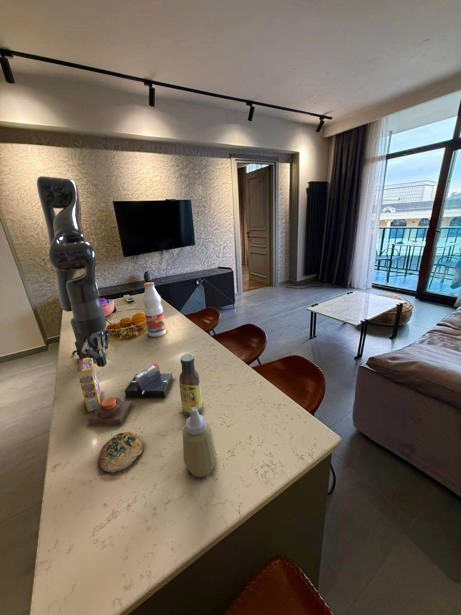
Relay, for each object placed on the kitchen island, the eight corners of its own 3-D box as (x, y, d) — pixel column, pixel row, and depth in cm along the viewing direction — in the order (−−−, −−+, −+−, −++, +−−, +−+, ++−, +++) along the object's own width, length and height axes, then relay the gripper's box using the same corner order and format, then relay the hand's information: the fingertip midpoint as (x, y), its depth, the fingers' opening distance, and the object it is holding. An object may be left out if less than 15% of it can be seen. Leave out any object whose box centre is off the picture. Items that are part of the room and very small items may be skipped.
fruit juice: (166, 328, 142) (159, 280, 132) (165, 336, 134) (157, 284, 124) (149, 330, 141) (140, 281, 131) (147, 338, 132) (137, 286, 122)
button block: (90, 424, 78) (87, 414, 77) (103, 406, 86) (101, 396, 84) (121, 424, 78) (118, 414, 76) (132, 406, 85) (130, 396, 84)
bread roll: (113, 435, 74) (111, 422, 72) (150, 440, 73) (149, 428, 71) (89, 472, 64) (86, 459, 62) (132, 480, 63) (130, 466, 61)
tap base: (124, 401, 88) (122, 393, 87) (139, 377, 100) (137, 370, 99) (163, 401, 87) (162, 393, 85) (174, 377, 99) (173, 370, 98)
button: (100, 410, 79) (99, 406, 78) (106, 401, 82) (105, 397, 82) (112, 410, 78) (111, 406, 78) (118, 401, 82) (117, 397, 82)
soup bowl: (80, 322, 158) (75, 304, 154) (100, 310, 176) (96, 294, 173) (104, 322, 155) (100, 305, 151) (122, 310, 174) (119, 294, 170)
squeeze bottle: (186, 453, 67) (177, 398, 61) (217, 450, 67) (211, 395, 61) (183, 484, 59) (173, 424, 53) (218, 480, 60) (212, 420, 54)
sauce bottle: (179, 415, 80) (170, 360, 73) (189, 401, 86) (182, 350, 79) (197, 420, 78) (190, 364, 71) (206, 406, 83) (200, 353, 76)
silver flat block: (140, 389, 88) (138, 376, 86) (137, 387, 89) (134, 375, 87) (160, 375, 95) (158, 363, 93) (157, 374, 96) (154, 362, 94)
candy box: (102, 408, 85) (91, 369, 80) (87, 412, 83) (75, 373, 78) (102, 392, 93) (92, 356, 87) (88, 396, 91) (77, 359, 86)
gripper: (89, 306, 79) (102, 354, 85) (60, 324, 67) (77, 378, 73) (113, 305, 78) (123, 354, 85) (87, 323, 66) (102, 379, 72)
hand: (102, 365), depth 79 cm, fingers closed
